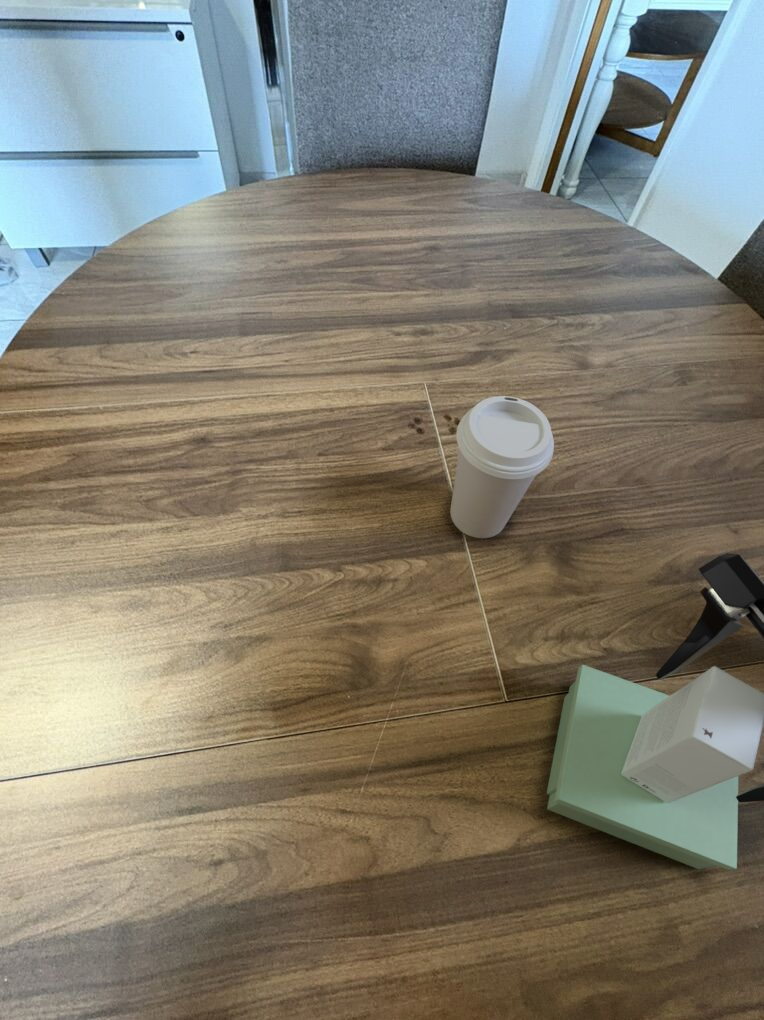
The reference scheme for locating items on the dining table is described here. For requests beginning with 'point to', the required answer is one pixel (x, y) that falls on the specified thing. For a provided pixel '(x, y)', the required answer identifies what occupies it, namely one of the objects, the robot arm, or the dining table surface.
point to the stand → (618, 801)
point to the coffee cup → (497, 462)
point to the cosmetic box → (697, 737)
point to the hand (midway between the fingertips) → (695, 734)
